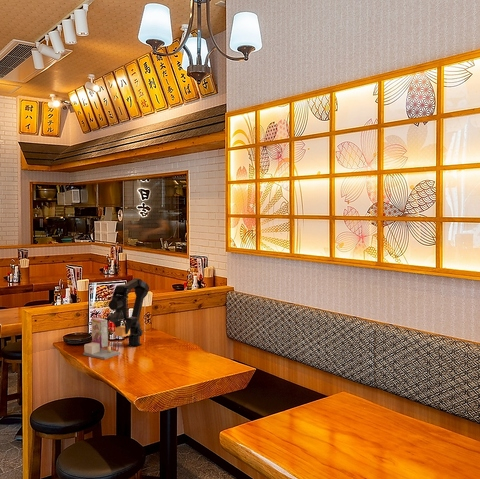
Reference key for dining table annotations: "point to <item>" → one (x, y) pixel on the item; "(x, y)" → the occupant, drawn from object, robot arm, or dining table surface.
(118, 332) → the light orange block
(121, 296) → the robot arm
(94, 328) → the candy bar box
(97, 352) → the board
